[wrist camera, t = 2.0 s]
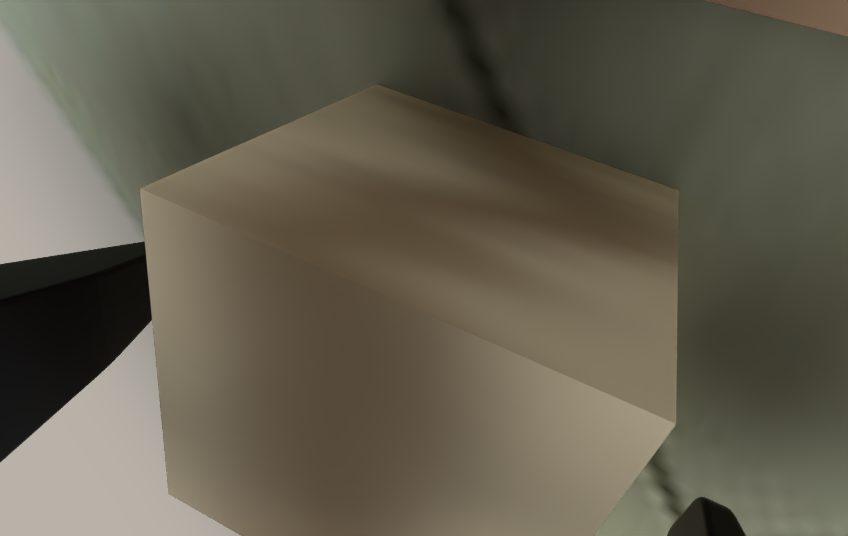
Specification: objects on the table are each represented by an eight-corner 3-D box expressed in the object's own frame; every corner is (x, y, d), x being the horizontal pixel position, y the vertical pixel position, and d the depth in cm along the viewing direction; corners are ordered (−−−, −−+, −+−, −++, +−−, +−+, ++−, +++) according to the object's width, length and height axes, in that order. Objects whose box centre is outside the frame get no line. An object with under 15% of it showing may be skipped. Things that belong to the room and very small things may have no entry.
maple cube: (678, 188, 10) (675, 424, 5) (560, 410, 13) (489, 678, 8) (378, 83, 11) (139, 188, 6) (341, 310, 14) (168, 493, 9)
